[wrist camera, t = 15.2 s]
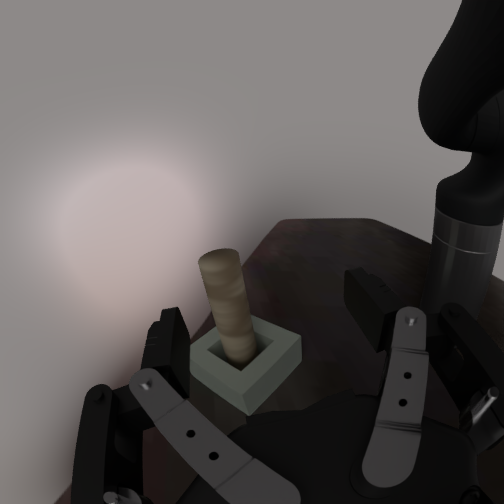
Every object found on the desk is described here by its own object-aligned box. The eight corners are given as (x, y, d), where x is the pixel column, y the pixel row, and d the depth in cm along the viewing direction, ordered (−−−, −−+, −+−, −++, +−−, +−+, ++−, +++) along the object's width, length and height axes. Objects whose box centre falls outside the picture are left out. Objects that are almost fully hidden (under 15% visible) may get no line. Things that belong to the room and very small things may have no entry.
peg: (245, 355, 34) (219, 245, 27) (267, 367, 32) (247, 253, 25) (225, 372, 32) (190, 262, 25) (247, 386, 29) (216, 272, 23)
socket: (244, 333, 38) (238, 309, 36) (302, 360, 32) (300, 335, 30) (192, 375, 32) (181, 352, 30) (249, 416, 26) (242, 395, 24)
